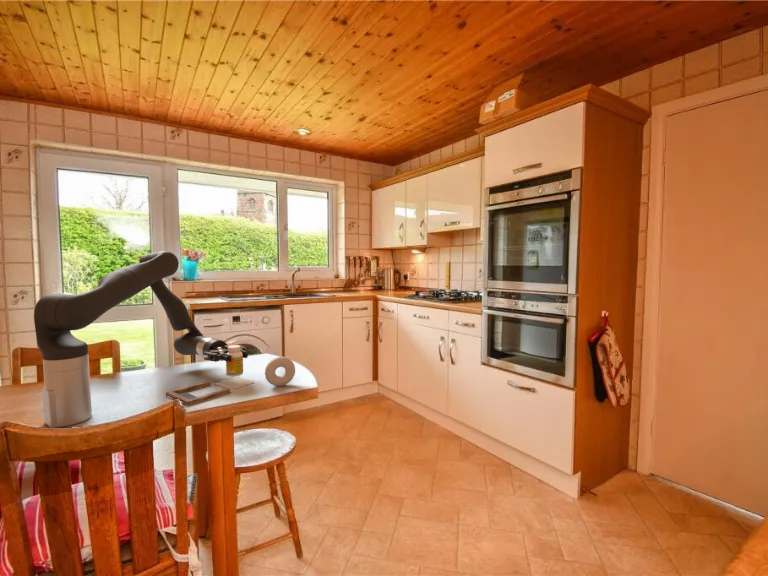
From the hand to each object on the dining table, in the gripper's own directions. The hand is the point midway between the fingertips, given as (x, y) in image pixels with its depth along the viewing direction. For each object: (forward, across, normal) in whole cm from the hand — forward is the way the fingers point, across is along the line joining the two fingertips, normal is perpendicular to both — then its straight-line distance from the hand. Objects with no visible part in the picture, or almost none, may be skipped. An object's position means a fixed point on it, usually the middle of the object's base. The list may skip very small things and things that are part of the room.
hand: (238, 356), depth 129 cm
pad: (-2, 0, +10) cm, 10 cm away
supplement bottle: (-3, 0, +7) cm, 7 cm away
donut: (+12, +8, +10) cm, 17 cm away
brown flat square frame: (-2, -12, +10) cm, 16 cm away
